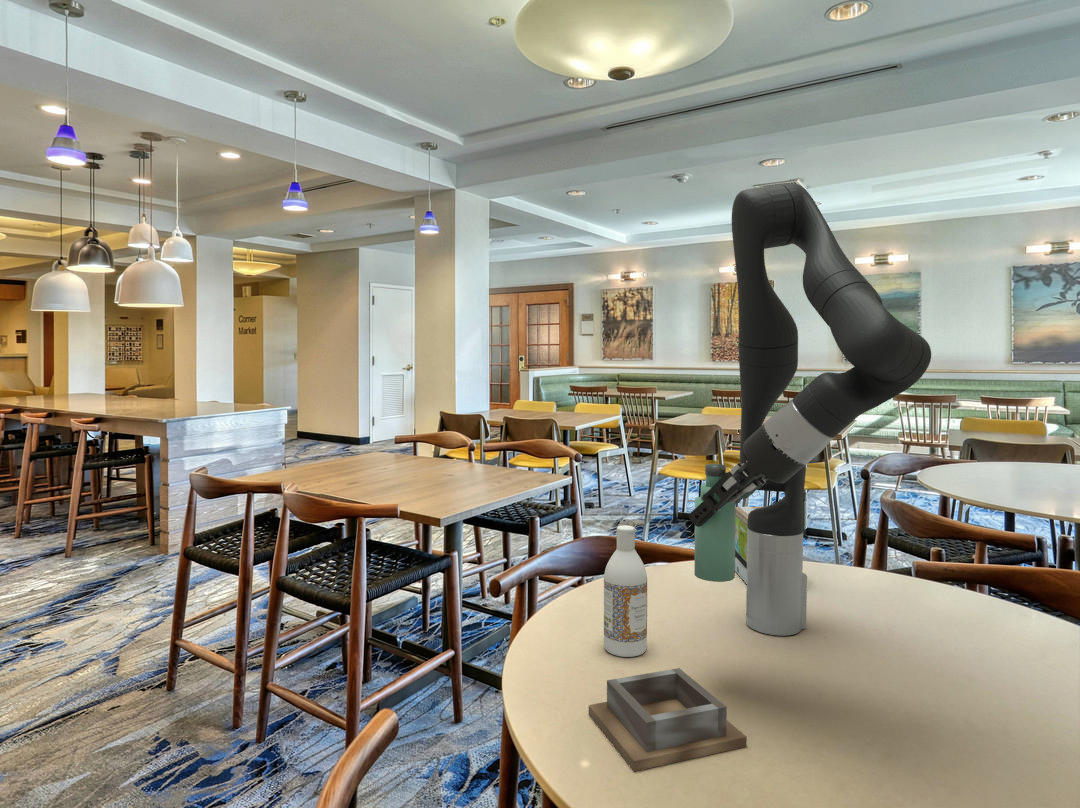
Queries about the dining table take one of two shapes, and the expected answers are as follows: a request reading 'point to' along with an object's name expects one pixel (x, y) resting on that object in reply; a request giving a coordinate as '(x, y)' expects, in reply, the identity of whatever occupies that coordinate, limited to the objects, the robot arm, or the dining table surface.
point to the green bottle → (715, 535)
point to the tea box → (741, 540)
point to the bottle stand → (664, 719)
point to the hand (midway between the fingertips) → (703, 517)
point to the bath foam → (625, 598)
